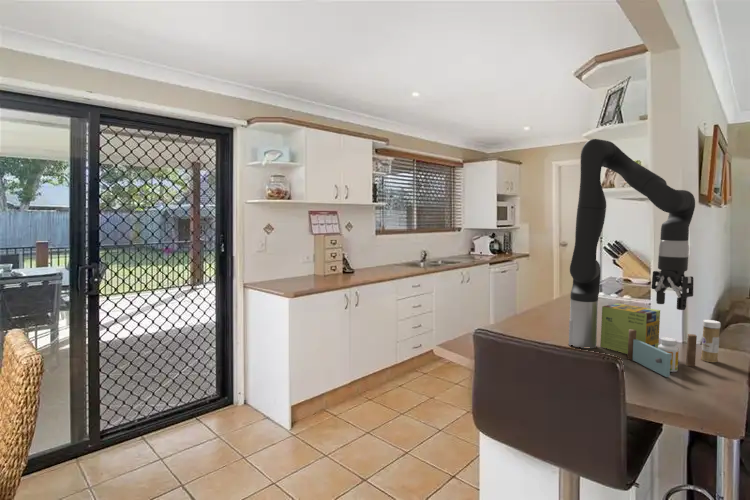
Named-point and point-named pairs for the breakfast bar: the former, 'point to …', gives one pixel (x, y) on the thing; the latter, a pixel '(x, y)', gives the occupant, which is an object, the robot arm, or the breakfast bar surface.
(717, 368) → the breakfast bar surface
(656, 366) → the door
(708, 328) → the sprinkles bottle
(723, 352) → the breakfast bar surface
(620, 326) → the protein box
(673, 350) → the supplement bottle
